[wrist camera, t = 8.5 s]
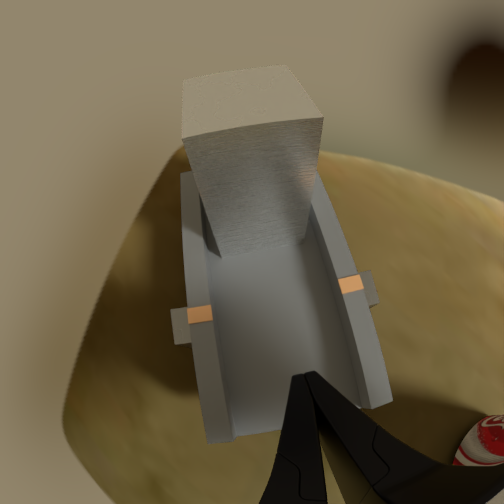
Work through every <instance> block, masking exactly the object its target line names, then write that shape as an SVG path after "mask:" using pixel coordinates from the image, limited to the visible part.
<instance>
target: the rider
mask: <svg viewBox="0 0 504 504" xmlns="http://www.w3.org/2000/svg"><path fill="white" fill-rule="evenodd" d="M182 102H183V103H182V141H183V144H184V147H185V150H186V153H187V157H188V160H189V163H190V166H191V169H192V172H193V175H194V178H195V181H196V184H197V187H198V190H199V193H200V196H201V199H202V202H203V205H204V208H205V211H206V214H207V217H208V220H209V223H210V226H211V228H212V231H213V234H214V237H215V240H216V243H217V246H218V248H219V251H220V254H221V257H222V258H226V257H231V256H237V255H242V254H247V253H252V252H258V251H263V250H268V249H273V248H279V247H284V246H289V245H295V244H300V243H304V239H305V233H306V228H307V222H308V217H309V211H310V205H311V200H312V194H313V188H314V181H315V175H316V169H317V162H318V155H319V148H320V141H321V133H322V126H323V118H324V117H323V116H322V114H321V112H320V111H319V110H318V108H317V107H316V105H315V104H314V102H313V101H312V99H311V98H310V96H309V95H308V94H307V92H306V91H305V89H304V88H303V87H302V85H301V84H300V83H299V81H298V80H297V79H296V77H295V76H294V75H293V73H292V72H291V71H290V69H289V68H288V67H287V65H278V66H265V67H256V68H247V69H240V70H233V71H227V72H221V73H215V74H209V75H205V76H200V77H195V78H190V79H186V80H183V101H182Z"/></svg>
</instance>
